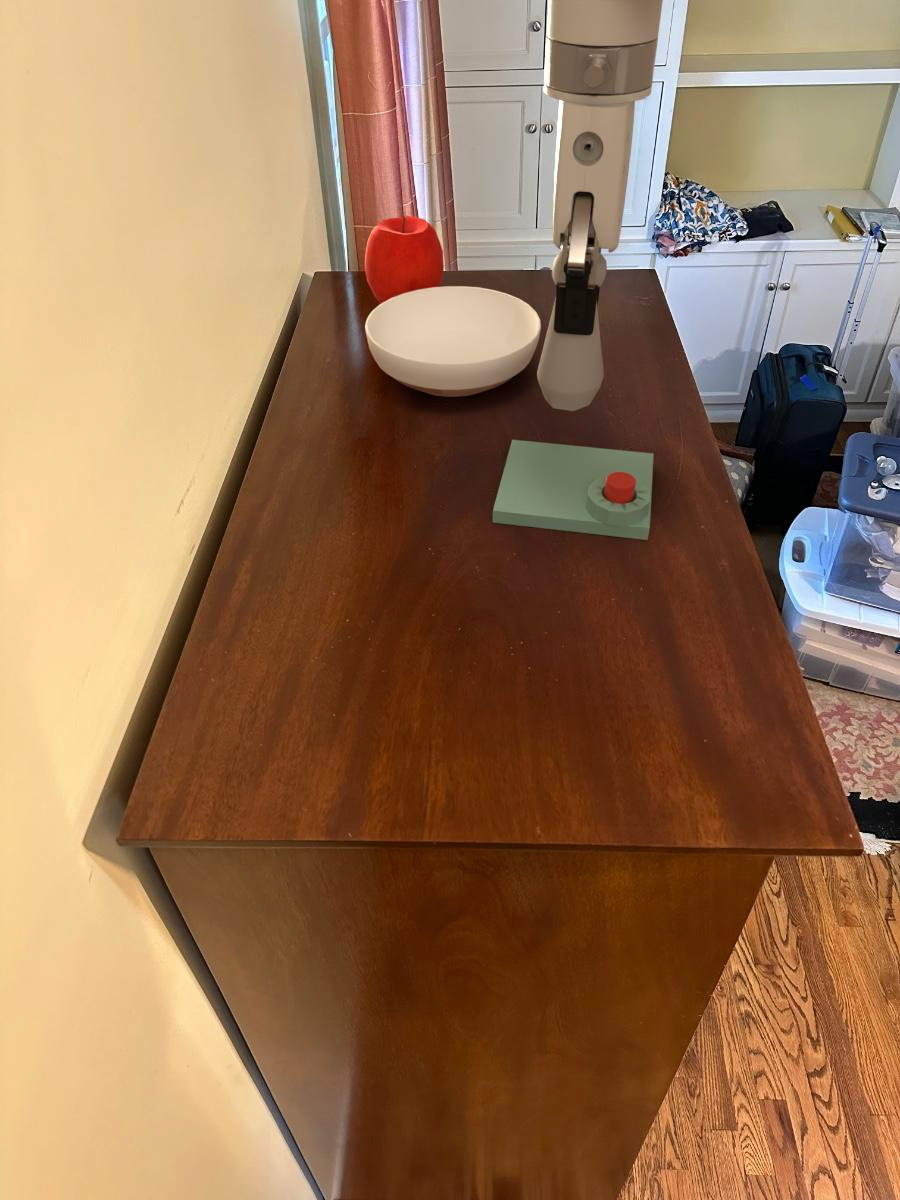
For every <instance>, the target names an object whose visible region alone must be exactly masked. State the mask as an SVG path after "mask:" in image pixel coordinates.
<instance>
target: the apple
mask: <svg viewBox="0 0 900 1200" xmlns="http://www.w3.org/2000/svg"><path fill="white" fill-rule="evenodd" d="M437 233H438V232H437V231H436V228H435V227H434V226H433V225H432V224H431V223H430V222H428V221H427V220H426V219H425V218H421V217H418V216H411V215H410V216H409V215H404V216H401V217H400V216H399V217H392V218H391V217H390V218H386V219H383V220H381V221H380V222H378V223H377V224H376V226H374V228H372V230H371V232H370V235H369V237H368V240H367V242H366V248H365V254H364V255H365V256H364V271H365V276H366V282H367V283H368V286H369V288H370V290H371V292H372V294H373V296H374V298H375V299H376V300H377V301H378V302H379V305H380V304H382V303H383V302H385V301H387V300H389V299H391V298H393V297H396V296H398V295H401V294H403V293H407V292H411V291H415V290H420V289H426V288H432V287H441V284H442V282H443V281H442V280H443V275H444V269H445V268H444V267H445V266H444V265H445V264H444V250H443V247H442V244H441V241H440V239H439V236H438V234H437Z"/></svg>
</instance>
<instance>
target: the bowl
mask: <svg viewBox="0 0 900 1200" xmlns="http://www.w3.org/2000/svg"><path fill="white" fill-rule="evenodd" d="M541 323H542V322H541V318H540V316H539V314H538V313H537V311H536V310H535V309H534V308H533V307H532V306H531V305H530V304H529V303H528V302H525V301H524V300H522V299H521V298H518V297H516V296H514V295H511V294H508V293H506V292H502V291H500V290H499V291H498V290H495V289H489V288H484V287H477V286H466V285H447V286H446V285H445V286H440V287H432V288H426V289H420V290H415V291H411V292H407V293H403V294H401V295H398V296H396V297H393V298H391V299H389V300H387V301H385V302H383V303H382V304H380V303H379V304H378V305H377V306H376V307H375V308H374V309H373V310H372V311H371V312H370V313H369V315H368V316H367V318H366V321H365V323H364V324H365V325H364V329H365V335H366V339H367V344H368V349H369V351H370V353H371V355H372V357H373V360H374V361H375V362H376V364H377V366H378V367H379V369H381V370H382V371H383V372H384V373H385V374H386V375H388V376H390V377H391V378H392V379H394V380H395V381H397V382H398V383H400V384H402V385H404V386H405V387H407V388H410V389H412V390H416V391H418V392H423V393H424V394H425V393H426V394H429V395H433V396H438V397H445V398H446V397H447V398H457V397H459V398H460V397H467V396H473V395H478V394H481V393H483V392H485V391H488V390H489V391H490V390H492V389H495V388H498V387H499V386H501V385H503V384H505V383H506V382H509V381H510V380H511V379H512V378H514V377H515V376H516V375H519V373H521V372H522V371H523V370H525V368H526V367H527V366H528V365H529V364H530V362H531V360H532V359H533V357H534V354H535V351H536V349H537V346H538V344H539V341H540V335H541V330H542V324H541Z"/></svg>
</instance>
